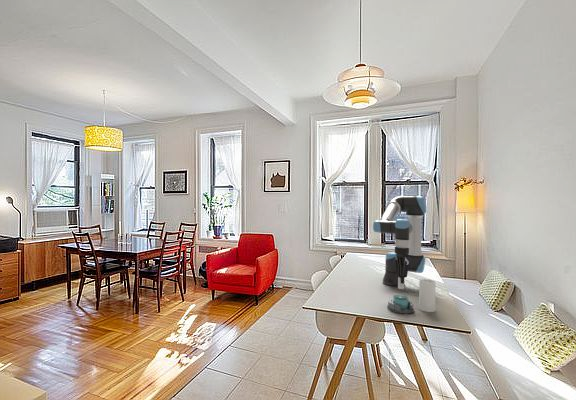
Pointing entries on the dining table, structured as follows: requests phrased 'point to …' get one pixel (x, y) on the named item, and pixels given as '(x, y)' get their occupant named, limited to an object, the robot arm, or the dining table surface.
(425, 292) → the cup
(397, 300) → the cap
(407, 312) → the dark grey round bowl
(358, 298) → the dining table surface
